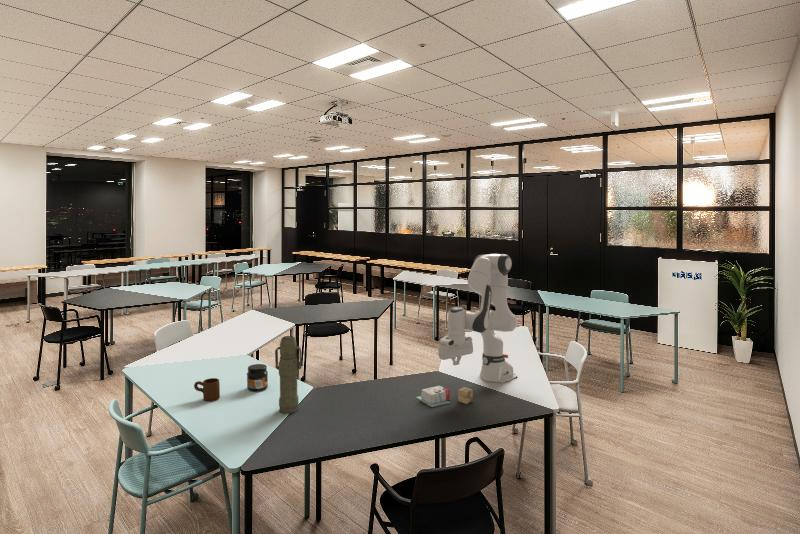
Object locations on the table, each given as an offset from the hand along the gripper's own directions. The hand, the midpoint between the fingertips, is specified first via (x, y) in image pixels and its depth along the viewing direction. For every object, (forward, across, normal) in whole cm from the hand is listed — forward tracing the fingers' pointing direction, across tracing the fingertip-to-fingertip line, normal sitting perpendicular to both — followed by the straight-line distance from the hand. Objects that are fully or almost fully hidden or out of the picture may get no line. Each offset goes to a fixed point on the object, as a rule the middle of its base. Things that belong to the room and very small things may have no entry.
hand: (456, 364), depth 235 cm
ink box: (+13, +8, 0) cm, 15 cm away
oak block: (+16, +2, +10) cm, 19 cm away
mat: (+15, +15, 0) cm, 22 cm away
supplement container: (+14, +87, -59) cm, 106 cm away
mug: (+13, +112, -57) cm, 126 cm away
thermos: (+13, +81, -24) cm, 86 cm away
